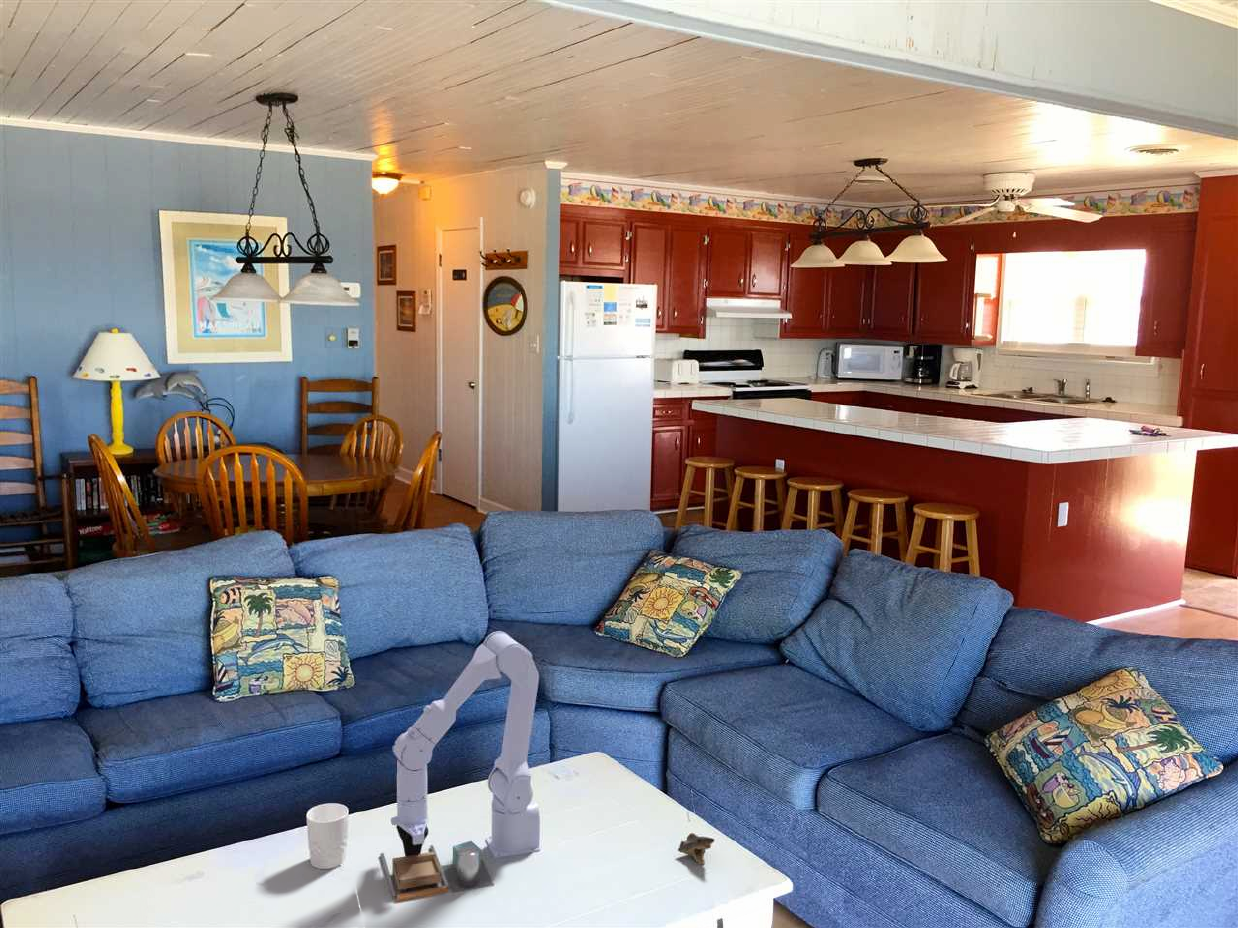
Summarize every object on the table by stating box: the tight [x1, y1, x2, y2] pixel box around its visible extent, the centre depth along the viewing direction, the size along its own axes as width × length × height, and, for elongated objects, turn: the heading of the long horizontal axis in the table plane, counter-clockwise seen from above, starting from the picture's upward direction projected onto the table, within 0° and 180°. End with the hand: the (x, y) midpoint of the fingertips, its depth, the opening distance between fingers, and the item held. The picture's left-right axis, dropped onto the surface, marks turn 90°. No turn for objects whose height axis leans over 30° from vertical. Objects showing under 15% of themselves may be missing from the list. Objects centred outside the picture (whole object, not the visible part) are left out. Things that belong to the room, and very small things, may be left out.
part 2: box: [457, 847, 479, 888], centre depth 191 cm, size 4×4×6 cm
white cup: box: [305, 802, 349, 870], centre depth 198 cm, size 8×8×10 cm
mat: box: [441, 858, 495, 894], centre depth 194 cm, size 8×10×1 cm
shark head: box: [677, 832, 715, 866], centre depth 202 cm, size 8×6×7 cm
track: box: [379, 845, 450, 902], centre depth 194 cm, size 10×17×1 cm, turn 21°
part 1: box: [452, 840, 482, 869], centre depth 196 cm, size 4×4×4 cm
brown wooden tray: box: [391, 851, 443, 893], centre depth 191 cm, size 8×8×4 cm
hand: (412, 861), depth 196 cm, fingers closed
